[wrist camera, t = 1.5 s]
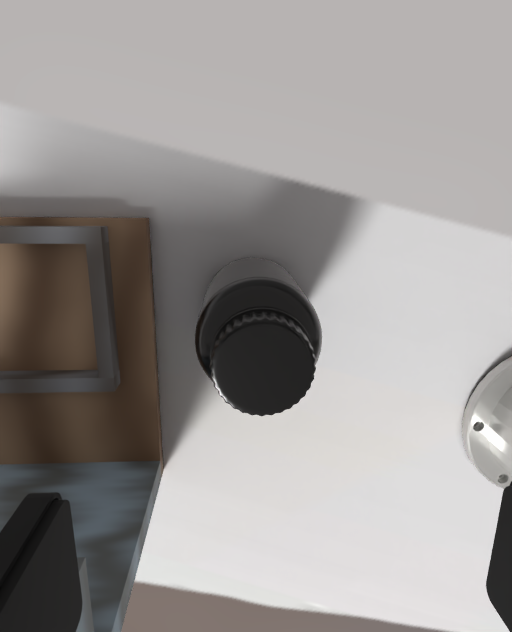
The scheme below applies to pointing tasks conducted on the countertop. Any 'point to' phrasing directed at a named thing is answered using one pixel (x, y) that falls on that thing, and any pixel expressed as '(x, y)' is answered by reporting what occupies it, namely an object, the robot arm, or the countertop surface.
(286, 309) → the supplement bottle
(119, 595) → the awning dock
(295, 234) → the countertop surface
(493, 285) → the countertop surface
